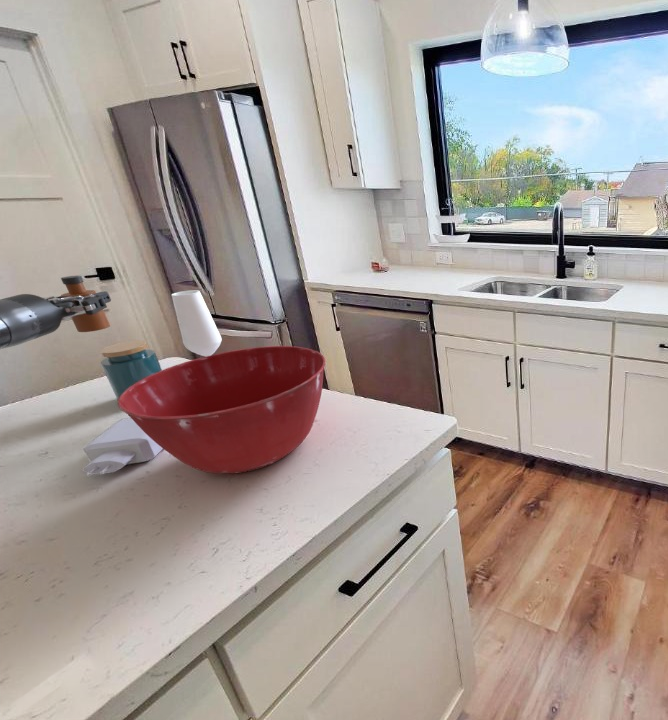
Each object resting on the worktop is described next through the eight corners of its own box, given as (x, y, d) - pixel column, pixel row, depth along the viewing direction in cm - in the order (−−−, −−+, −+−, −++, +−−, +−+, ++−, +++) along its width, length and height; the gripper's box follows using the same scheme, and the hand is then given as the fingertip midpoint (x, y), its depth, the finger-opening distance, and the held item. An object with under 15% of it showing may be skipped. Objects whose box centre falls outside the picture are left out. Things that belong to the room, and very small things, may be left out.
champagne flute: (245, 390, 99) (212, 290, 89) (215, 403, 93) (176, 298, 84) (228, 385, 101) (194, 288, 92) (197, 397, 96) (158, 295, 86)
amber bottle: (70, 333, 84) (45, 280, 79) (90, 325, 88) (67, 275, 84) (98, 331, 84) (74, 278, 80) (116, 324, 89) (94, 274, 84)
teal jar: (108, 408, 92) (83, 355, 87) (137, 389, 100) (115, 340, 95) (154, 404, 93) (132, 352, 88) (179, 386, 101) (160, 338, 96)
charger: (66, 492, 66) (125, 440, 80) (134, 482, 68) (181, 433, 82) (52, 468, 65) (115, 419, 78) (123, 458, 67) (173, 412, 80)
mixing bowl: (289, 399, 94) (271, 335, 88) (373, 434, 81) (358, 360, 74) (128, 468, 72) (88, 388, 66) (206, 531, 58) (166, 438, 52)
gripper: (49, 297, 70) (124, 277, 86) (-52, 302, 68) (43, 280, 84) (69, 339, 73) (138, 312, 89) (-27, 345, 71) (60, 316, 87)
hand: (92, 297), depth 86 cm, fingers closed on amber bottle, 4 cm apart
